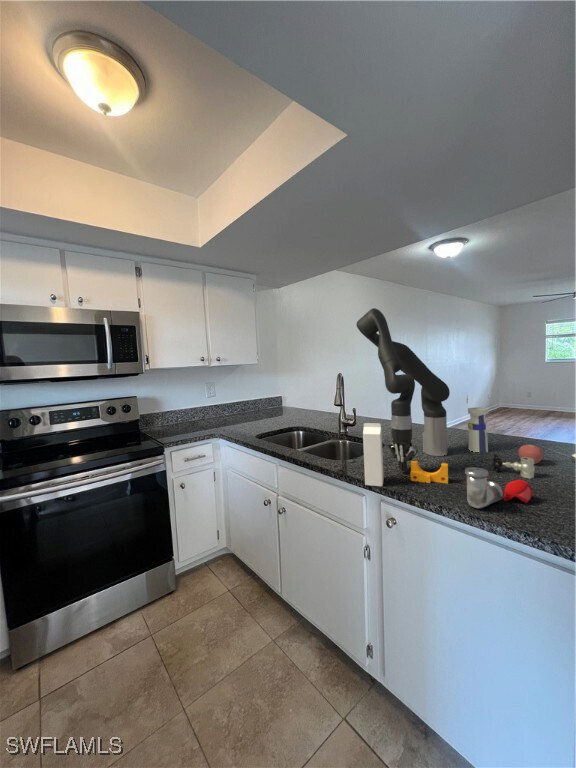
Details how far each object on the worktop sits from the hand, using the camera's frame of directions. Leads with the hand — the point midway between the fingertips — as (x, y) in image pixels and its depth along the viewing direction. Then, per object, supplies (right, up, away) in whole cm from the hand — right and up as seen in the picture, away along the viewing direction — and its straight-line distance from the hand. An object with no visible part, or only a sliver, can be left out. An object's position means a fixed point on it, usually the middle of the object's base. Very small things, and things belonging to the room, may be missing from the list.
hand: (402, 470), depth 121 cm
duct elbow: (+13, -3, -28) cm, 31 cm away
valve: (+38, 0, -7) cm, 39 cm away
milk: (-13, -3, -7) cm, 15 cm away
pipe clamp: (+7, -2, -8) cm, 11 cm away
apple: (+51, +2, +2) cm, 51 cm away
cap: (+25, -2, -26) cm, 36 cm away
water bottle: (+42, +3, +21) cm, 47 cm away
